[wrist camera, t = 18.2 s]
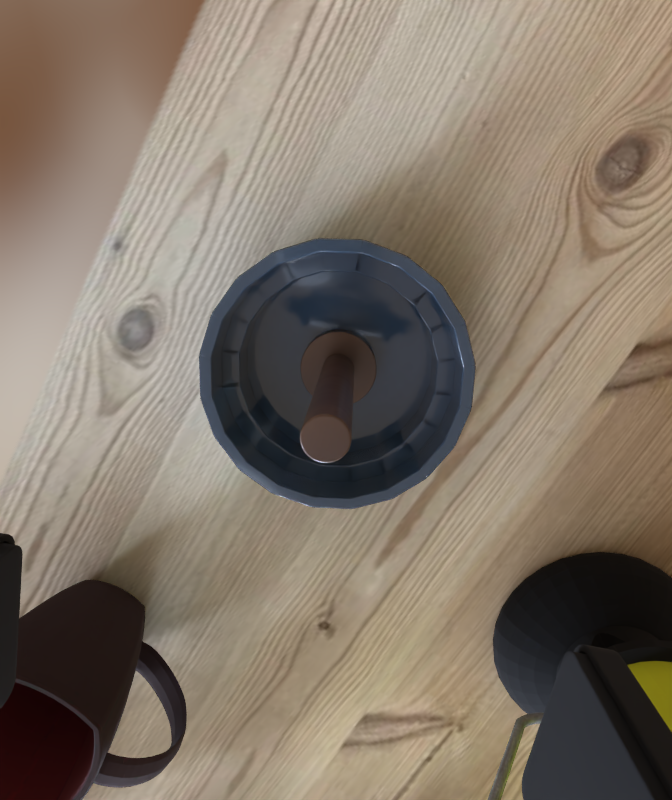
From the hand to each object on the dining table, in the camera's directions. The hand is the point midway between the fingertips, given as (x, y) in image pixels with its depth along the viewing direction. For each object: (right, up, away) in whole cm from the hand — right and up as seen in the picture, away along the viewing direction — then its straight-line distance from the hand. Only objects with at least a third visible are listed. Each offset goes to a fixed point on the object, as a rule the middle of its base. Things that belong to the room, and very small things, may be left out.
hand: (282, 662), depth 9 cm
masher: (+1, +7, +27) cm, 28 cm away
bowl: (+1, +7, +27) cm, 28 cm away
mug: (-15, -13, +33) cm, 39 cm away
